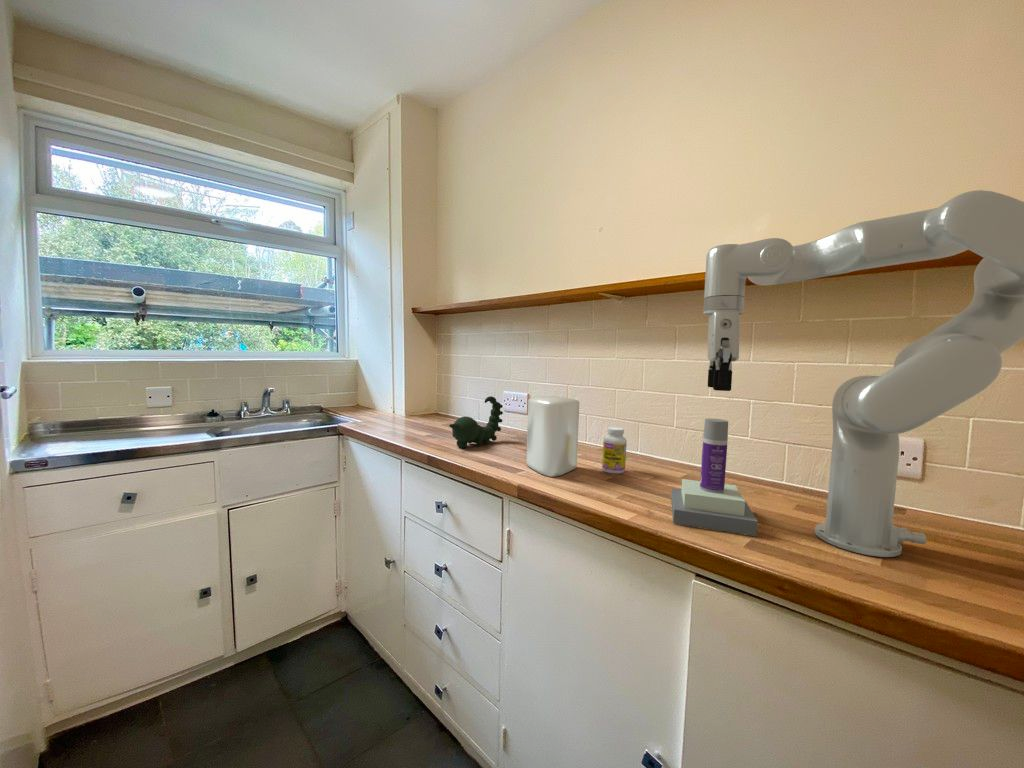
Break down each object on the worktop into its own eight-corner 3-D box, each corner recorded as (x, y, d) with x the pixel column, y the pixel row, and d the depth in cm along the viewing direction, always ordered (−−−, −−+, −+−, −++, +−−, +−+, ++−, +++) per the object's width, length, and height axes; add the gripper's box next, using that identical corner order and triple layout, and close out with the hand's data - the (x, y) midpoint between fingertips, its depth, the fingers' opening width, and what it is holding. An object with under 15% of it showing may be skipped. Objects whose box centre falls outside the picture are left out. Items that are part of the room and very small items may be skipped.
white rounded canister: (576, 466, 127) (578, 395, 125) (578, 479, 113) (582, 400, 111) (526, 463, 128) (529, 393, 127) (523, 476, 114) (526, 397, 112)
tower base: (741, 509, 93) (743, 484, 93) (756, 536, 79) (758, 506, 79) (671, 500, 98) (672, 475, 98) (673, 523, 84) (675, 495, 84)
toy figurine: (487, 443, 163) (438, 446, 144) (492, 395, 163) (443, 393, 144) (505, 447, 157) (456, 451, 138) (509, 397, 157) (461, 395, 138)
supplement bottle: (599, 471, 121) (601, 428, 120) (605, 466, 127) (607, 425, 126) (622, 475, 118) (624, 431, 117) (627, 470, 124) (629, 428, 123)
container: (710, 493, 85) (715, 422, 84) (695, 486, 90) (699, 418, 89) (729, 492, 87) (734, 421, 86) (712, 485, 91) (717, 418, 90)
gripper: (752, 301, 76) (747, 393, 77) (736, 311, 92) (731, 387, 94) (708, 301, 79) (703, 391, 80) (699, 311, 95) (695, 385, 96)
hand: (718, 388), depth 87 cm, fingers open, 9 cm apart
